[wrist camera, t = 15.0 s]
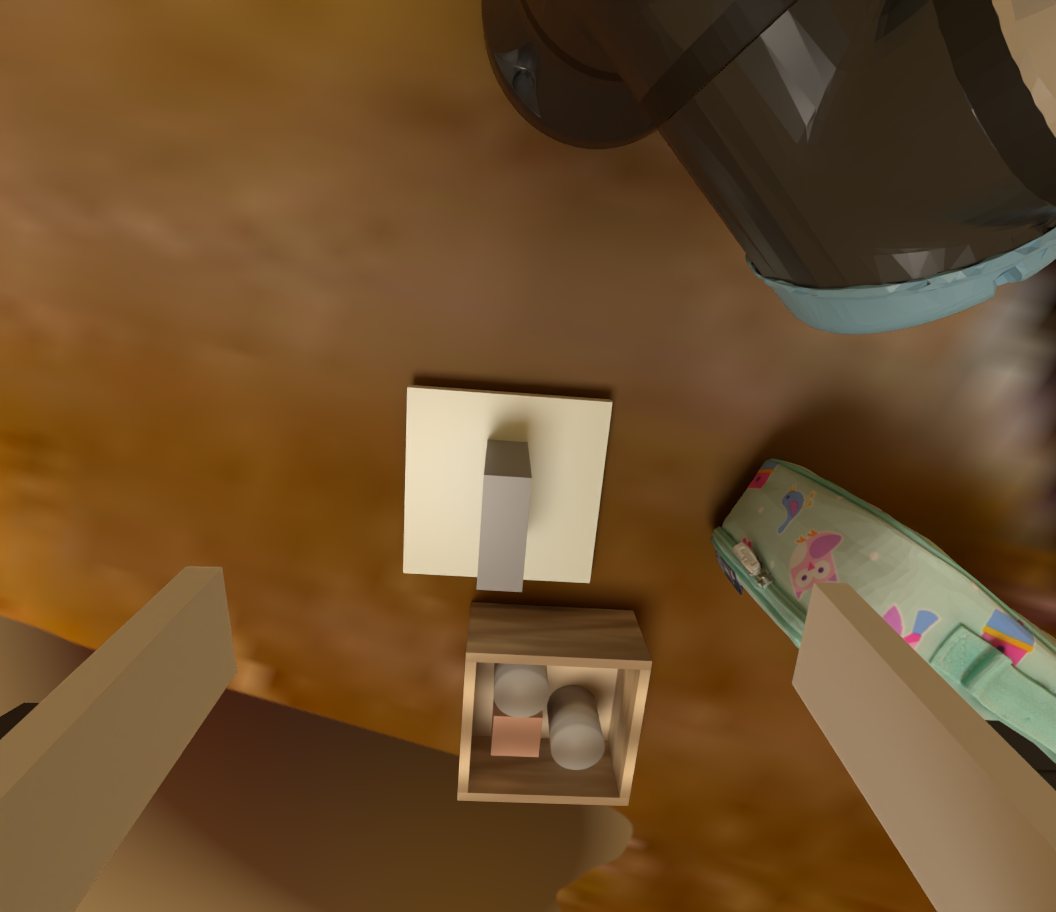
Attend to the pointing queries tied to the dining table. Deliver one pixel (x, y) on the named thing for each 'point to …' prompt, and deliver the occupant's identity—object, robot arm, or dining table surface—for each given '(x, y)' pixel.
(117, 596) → the dining table surface
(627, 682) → the crate
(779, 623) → the lunch box
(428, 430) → the lid
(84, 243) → the dining table surface
